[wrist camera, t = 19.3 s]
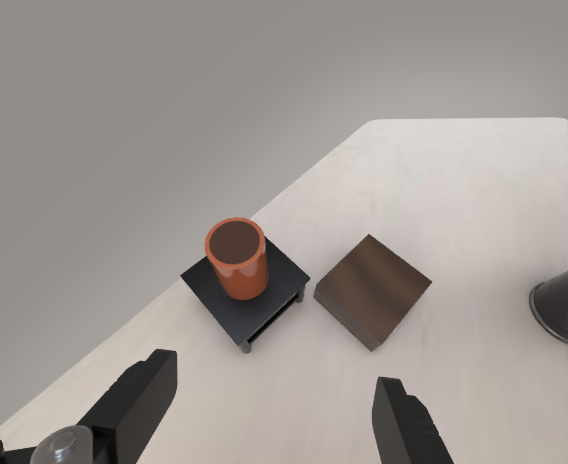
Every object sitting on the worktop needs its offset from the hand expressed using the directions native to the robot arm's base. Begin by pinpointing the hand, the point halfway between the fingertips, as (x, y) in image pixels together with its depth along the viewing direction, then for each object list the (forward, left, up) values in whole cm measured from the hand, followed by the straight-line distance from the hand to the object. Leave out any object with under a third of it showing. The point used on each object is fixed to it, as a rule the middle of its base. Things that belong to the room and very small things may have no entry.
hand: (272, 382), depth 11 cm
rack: (-6, -13, -30) cm, 33 cm away
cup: (-6, -13, -22) cm, 26 cm away
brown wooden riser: (-19, -1, -30) cm, 35 cm away
